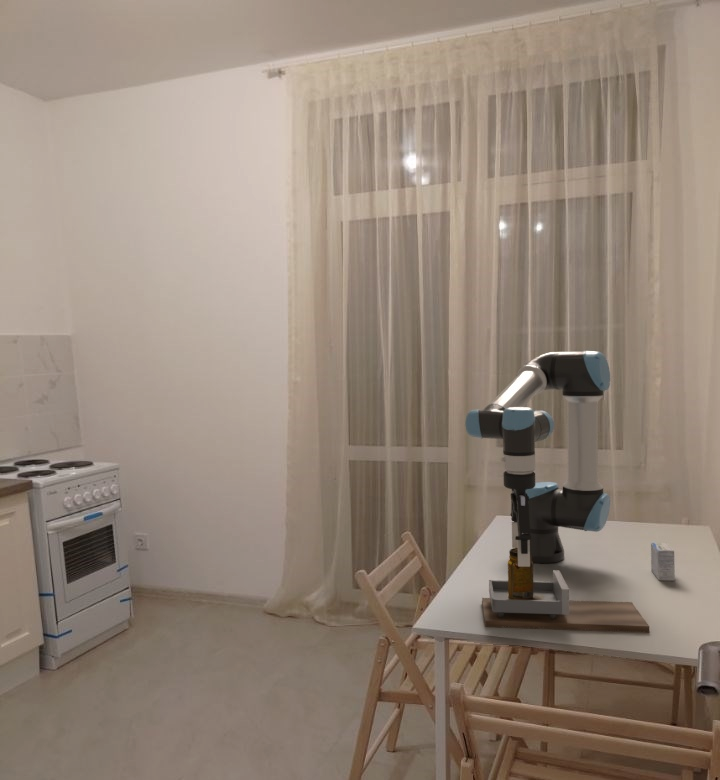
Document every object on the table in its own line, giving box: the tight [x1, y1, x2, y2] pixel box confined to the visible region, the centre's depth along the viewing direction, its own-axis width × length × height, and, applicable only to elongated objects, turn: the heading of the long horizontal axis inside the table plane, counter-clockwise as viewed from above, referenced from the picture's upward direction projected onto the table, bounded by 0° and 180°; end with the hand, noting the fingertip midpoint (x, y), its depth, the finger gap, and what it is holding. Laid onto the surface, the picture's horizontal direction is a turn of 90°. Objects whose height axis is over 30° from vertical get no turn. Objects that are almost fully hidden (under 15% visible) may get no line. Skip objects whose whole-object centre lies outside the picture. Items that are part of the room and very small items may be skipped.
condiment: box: [506, 548, 544, 600], centre depth 154 cm, size 7×8×12 cm
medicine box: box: [650, 542, 676, 582], centre depth 179 cm, size 8×4×9 cm, turn 168°
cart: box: [488, 569, 570, 620], centre depth 154 cm, size 13×18×8 cm
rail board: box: [481, 597, 650, 633], centre depth 153 cm, size 14×37×2 cm, turn 82°
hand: (520, 556), depth 154 cm, fingers open, 13 cm apart
